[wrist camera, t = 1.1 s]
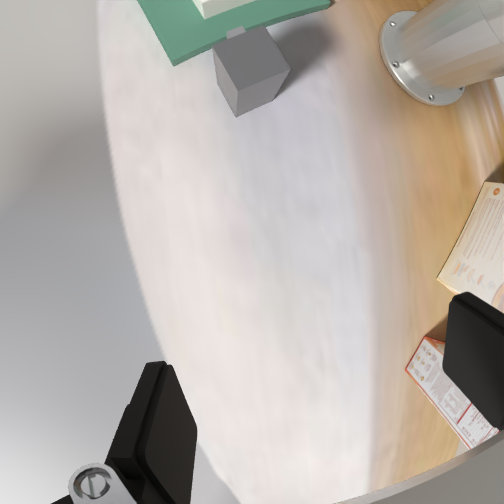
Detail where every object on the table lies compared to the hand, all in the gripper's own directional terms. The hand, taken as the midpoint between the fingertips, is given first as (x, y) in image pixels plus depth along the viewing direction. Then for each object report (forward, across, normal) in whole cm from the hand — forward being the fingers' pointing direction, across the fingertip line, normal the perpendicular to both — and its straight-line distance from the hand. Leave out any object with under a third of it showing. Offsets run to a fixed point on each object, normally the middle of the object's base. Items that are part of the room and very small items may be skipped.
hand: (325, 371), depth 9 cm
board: (+24, -1, -28) cm, 36 cm away
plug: (+23, -1, -14) cm, 27 cm away
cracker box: (+24, -23, +23) cm, 40 cm away
